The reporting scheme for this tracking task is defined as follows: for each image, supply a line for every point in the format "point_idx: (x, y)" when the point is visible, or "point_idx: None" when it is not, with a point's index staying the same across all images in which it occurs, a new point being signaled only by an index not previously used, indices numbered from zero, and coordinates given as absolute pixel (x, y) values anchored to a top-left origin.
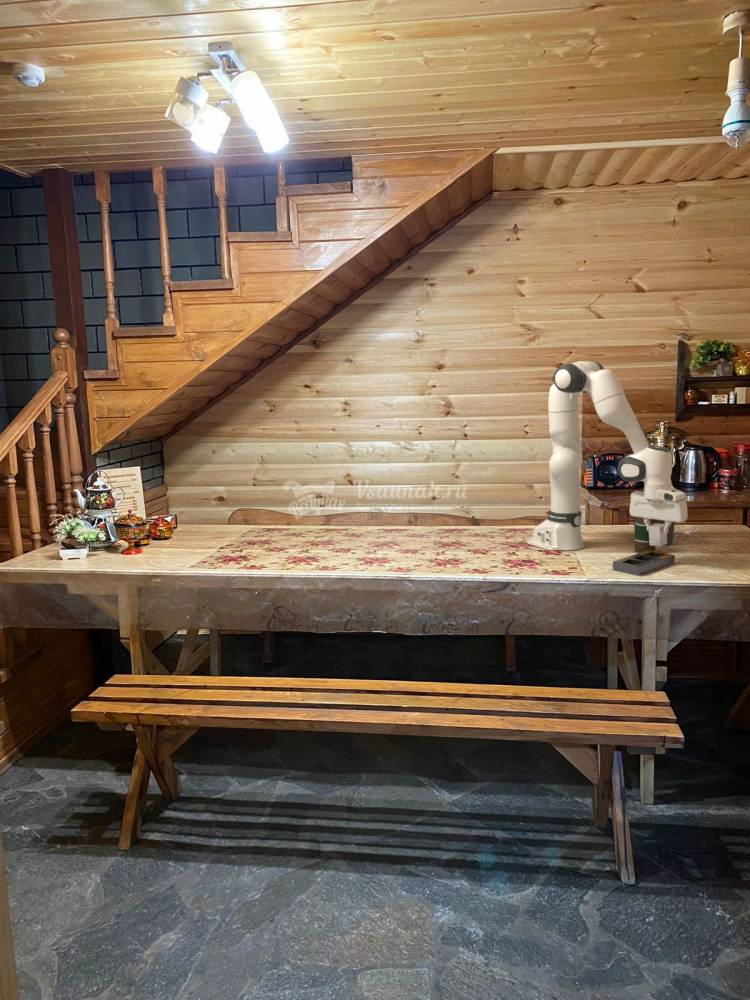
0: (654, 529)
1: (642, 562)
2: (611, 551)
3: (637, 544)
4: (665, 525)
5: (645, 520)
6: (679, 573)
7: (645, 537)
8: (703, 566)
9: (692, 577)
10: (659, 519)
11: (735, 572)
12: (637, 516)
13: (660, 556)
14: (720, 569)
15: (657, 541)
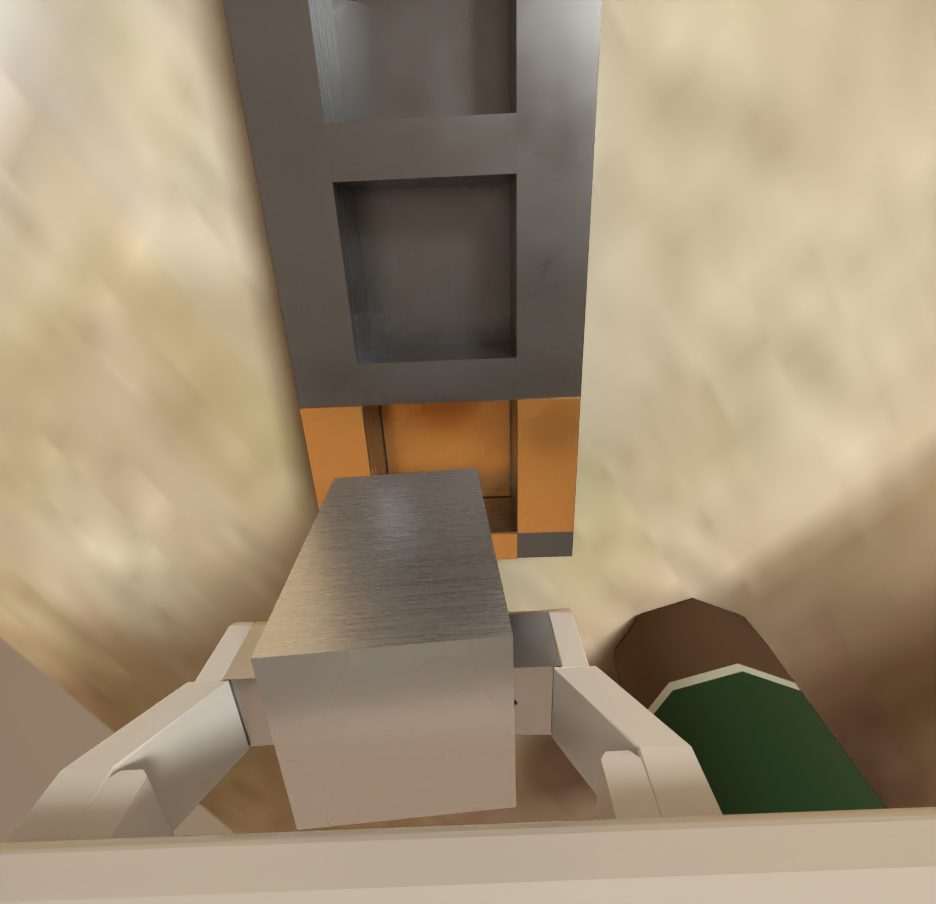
0: (381, 600)
1: (351, 122)
2: (892, 513)
3: (741, 646)
4: (153, 732)
5: (649, 762)
6: (157, 344)
7: (704, 714)
8: (210, 602)
9: (18, 316)
10: (195, 844)
11: (10, 613)
12: (931, 818)
13: (363, 439)
14: (105, 611)
15: (363, 499)
